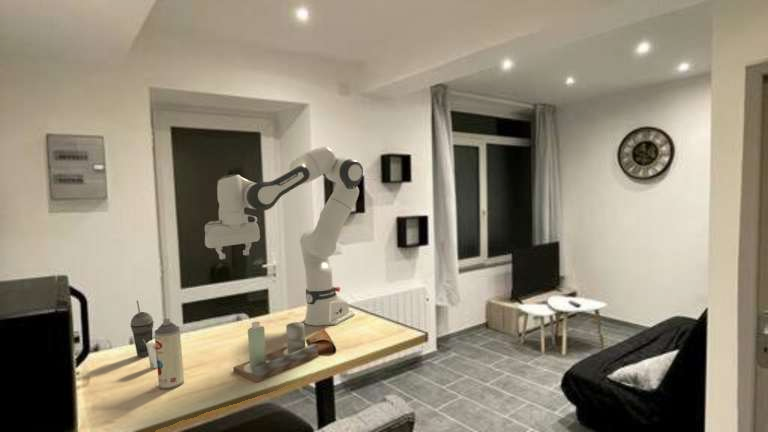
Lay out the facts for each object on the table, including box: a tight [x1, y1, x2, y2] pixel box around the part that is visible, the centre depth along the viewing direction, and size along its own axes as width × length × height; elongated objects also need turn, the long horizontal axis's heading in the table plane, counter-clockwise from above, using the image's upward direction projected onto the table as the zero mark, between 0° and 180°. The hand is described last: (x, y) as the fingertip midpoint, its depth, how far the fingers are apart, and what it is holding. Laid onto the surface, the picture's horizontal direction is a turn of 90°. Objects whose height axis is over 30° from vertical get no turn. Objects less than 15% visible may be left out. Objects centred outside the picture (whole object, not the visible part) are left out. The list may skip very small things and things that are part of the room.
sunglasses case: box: [305, 327, 337, 356], centre depth 154 cm, size 18×7×7 cm, turn 20°
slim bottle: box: [247, 321, 267, 369], centre depth 134 cm, size 5×5×14 cm
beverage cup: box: [130, 300, 155, 359], centre depth 151 cm, size 7×7×20 cm
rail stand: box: [232, 321, 319, 383], centre depth 140 cm, size 24×13×11 cm, turn 139°
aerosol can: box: [154, 318, 185, 391], centre depth 127 cm, size 7×7×20 cm
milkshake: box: [143, 338, 157, 370], centre depth 141 cm, size 4×5×10 cm
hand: (234, 256), depth 156 cm, fingers open, 8 cm apart
